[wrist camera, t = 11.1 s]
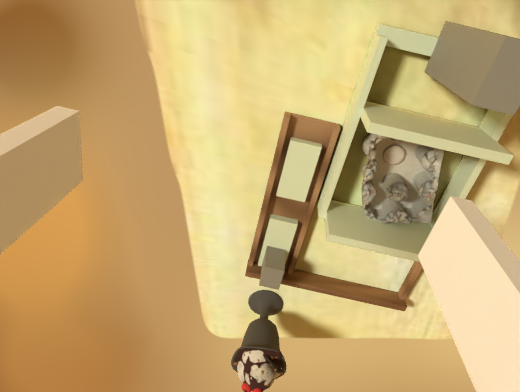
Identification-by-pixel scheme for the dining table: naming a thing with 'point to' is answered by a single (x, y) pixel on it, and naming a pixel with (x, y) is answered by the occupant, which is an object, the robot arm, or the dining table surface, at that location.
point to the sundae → (260, 346)
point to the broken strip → (282, 228)
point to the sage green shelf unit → (428, 126)
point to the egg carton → (399, 180)
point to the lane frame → (303, 211)
